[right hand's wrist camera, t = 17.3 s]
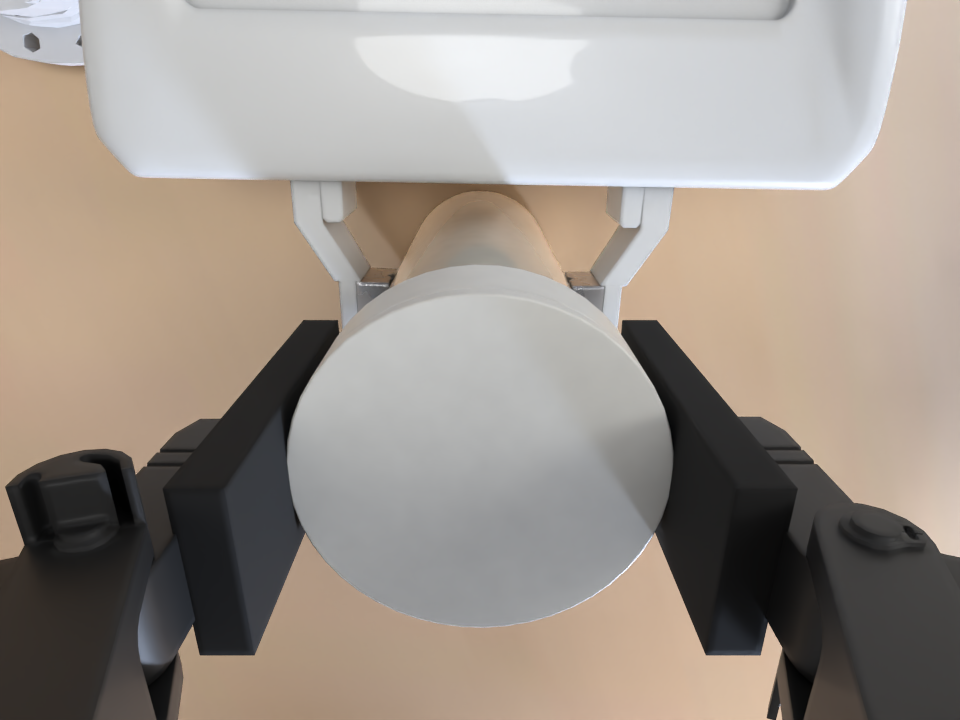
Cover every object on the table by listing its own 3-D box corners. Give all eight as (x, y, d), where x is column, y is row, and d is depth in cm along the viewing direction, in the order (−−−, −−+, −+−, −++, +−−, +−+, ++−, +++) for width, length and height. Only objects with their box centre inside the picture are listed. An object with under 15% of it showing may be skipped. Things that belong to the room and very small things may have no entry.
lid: (513, 605, 14) (517, 678, 12) (255, 458, 12) (217, 517, 10) (715, 392, 12) (757, 441, 10) (436, 188, 10) (427, 205, 8)
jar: (385, 264, 25) (261, 466, 11) (475, 160, 24) (467, 236, 9) (484, 348, 26) (489, 625, 12) (575, 254, 25) (701, 447, 11)
